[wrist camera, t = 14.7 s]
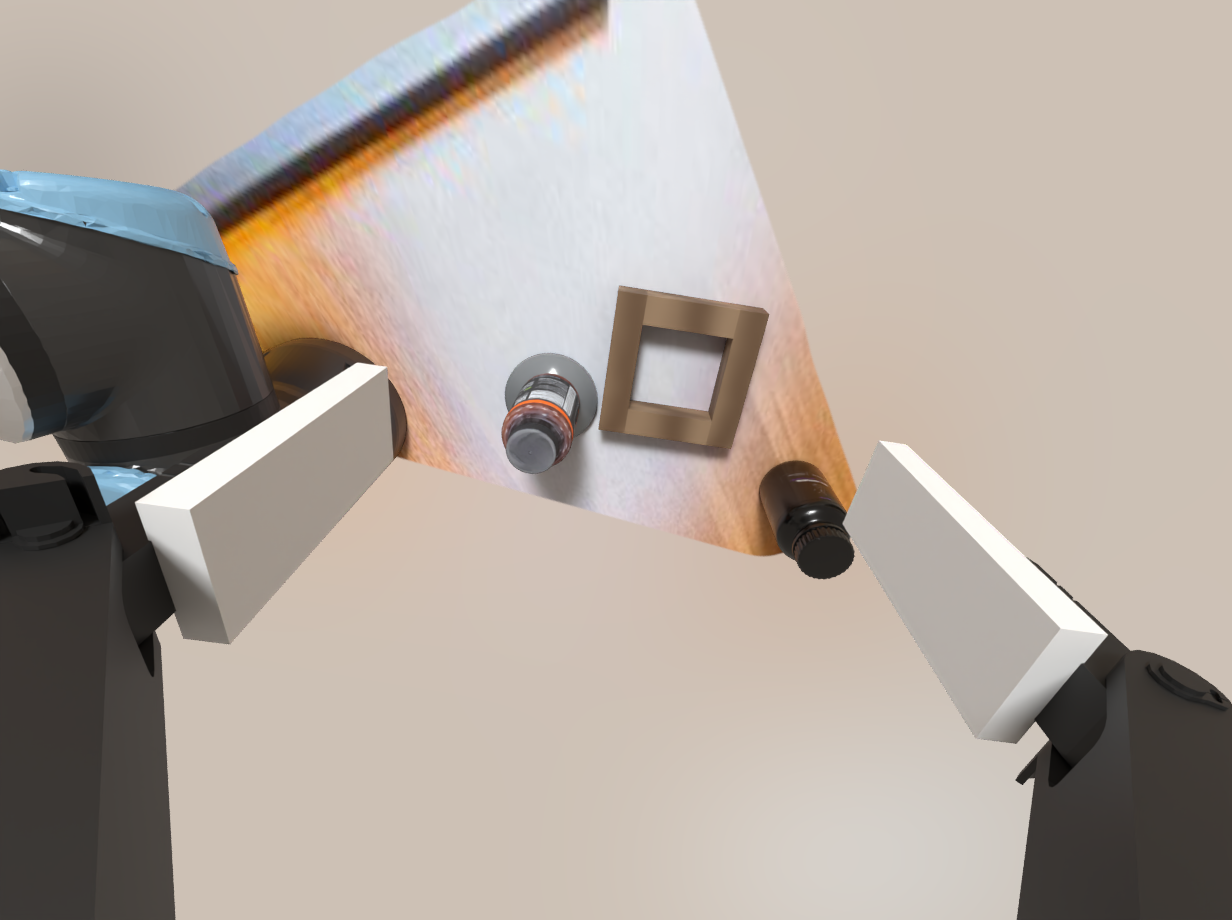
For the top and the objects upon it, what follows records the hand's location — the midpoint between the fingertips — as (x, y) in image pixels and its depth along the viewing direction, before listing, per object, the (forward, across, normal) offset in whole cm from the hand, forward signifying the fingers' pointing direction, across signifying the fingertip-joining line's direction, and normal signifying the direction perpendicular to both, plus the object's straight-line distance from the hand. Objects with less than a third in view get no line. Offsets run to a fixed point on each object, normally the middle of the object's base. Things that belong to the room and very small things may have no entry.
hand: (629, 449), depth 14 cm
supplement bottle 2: (+35, +20, -19) cm, 44 cm away
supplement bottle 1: (+34, -6, -13) cm, 37 cm away
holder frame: (+35, +6, -8) cm, 36 cm away
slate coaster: (+35, -6, -13) cm, 38 cm away
